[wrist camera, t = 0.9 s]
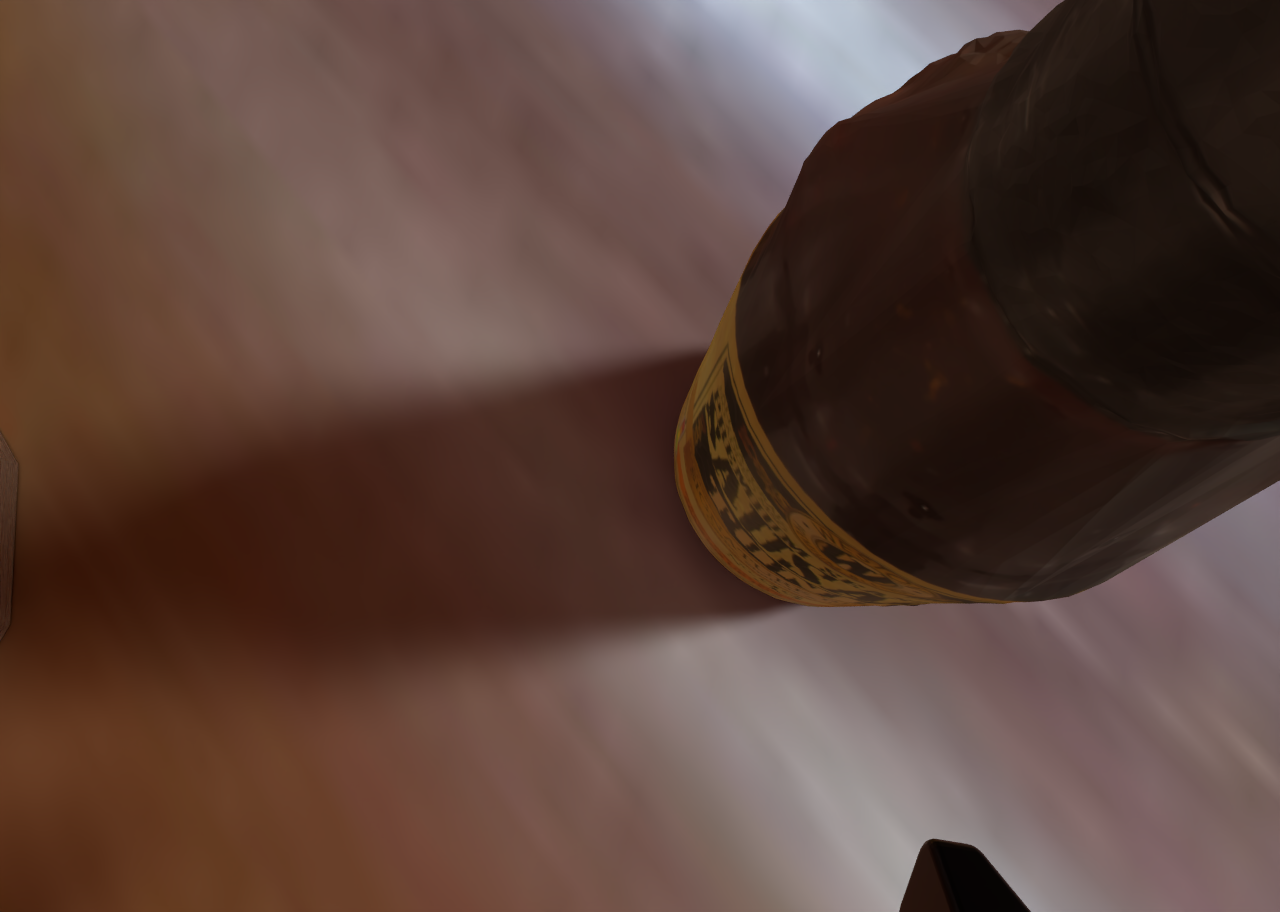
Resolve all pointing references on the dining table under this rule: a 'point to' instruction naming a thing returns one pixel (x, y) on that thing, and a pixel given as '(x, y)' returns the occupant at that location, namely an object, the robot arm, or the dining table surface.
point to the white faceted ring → (7, 530)
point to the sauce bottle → (1007, 320)
